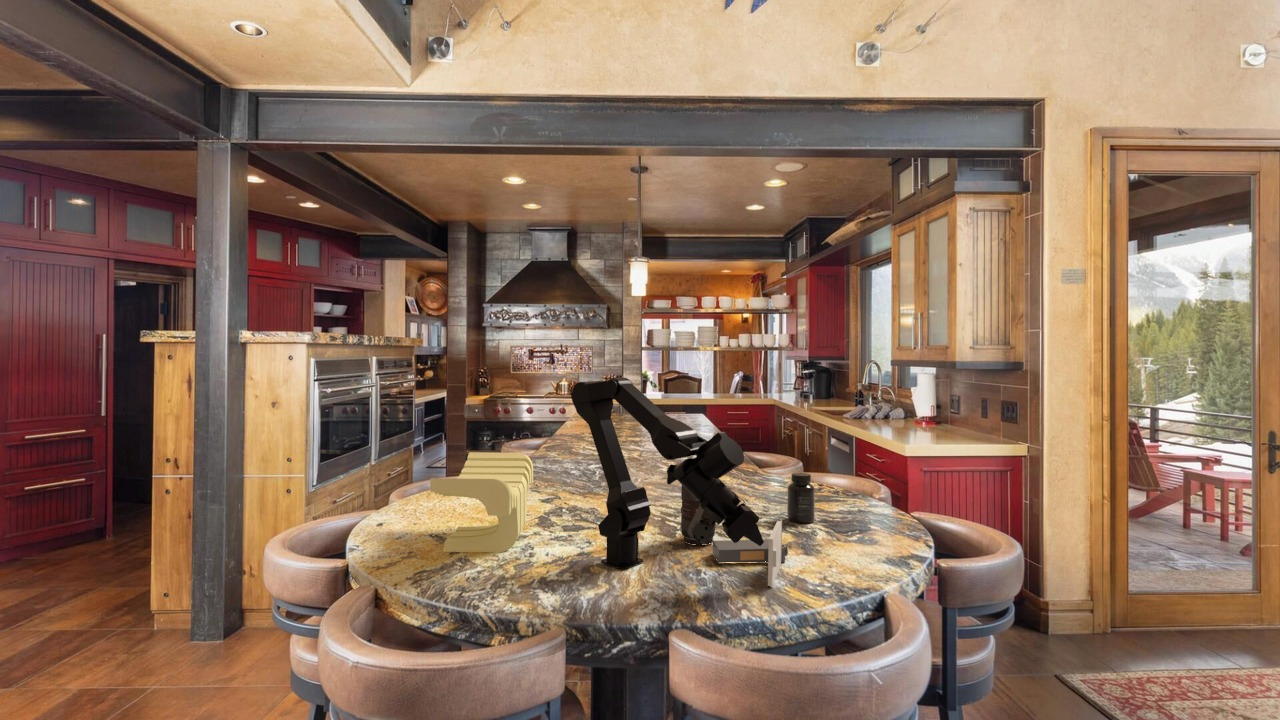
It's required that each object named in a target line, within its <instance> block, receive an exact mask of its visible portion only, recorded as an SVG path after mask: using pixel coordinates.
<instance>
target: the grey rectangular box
mask: <svg viewBox="0 0 1280 720" xmlns="http://www.w3.org/2000/svg"><path fill="white" fill-rule="evenodd" d="M763 541H764V543H763V544H762V545H761V546H759V545H757V544H756V543H754V542H752V541H751V540H749V539H742V540H741V539H740V540H739V541H738V542H737V543H734V542H733V541H732V540H731V539H729V540H713V542H712V555H713V554H714V556H715V557H716V559H717V560H718V562H765V561H766V562H768V546H769V539H763ZM788 553H789V550H788V545H787V544H782V559H781V562H785V563H786V557H787V556H788ZM714 556H713V557H714ZM715 557H714V558H715ZM716 559H715V560H716ZM718 562H717V563H718Z"/></svg>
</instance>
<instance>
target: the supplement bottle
mask: <svg viewBox="0 0 1280 720" xmlns="http://www.w3.org/2000/svg"><path fill="white" fill-rule="evenodd" d="M811 475H812V474H810V473H808V472H807V473H806V472H793V473H791V479H790V480H791V483H790V484H789V485H787V505H786V506H787V519H788V521H789V522H791V523H796V524H811V523H814V521H815V516H816V515H815V506H816V505H815V503H816V502H815V500H816V498H815V494H816V493H815V492H816V491H815V487H814V485H812V484H811V483H812V480H811Z"/></svg>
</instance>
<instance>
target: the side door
mask: <svg viewBox="0 0 1280 720" xmlns="http://www.w3.org/2000/svg"><path fill="white" fill-rule="evenodd" d="M768 540H769V546H768V563H767V587H768V586H770V587H769V588H773V586H774V583H775V581H776V579H775V578H777V576H778V574H779V570H780V568H781V566H782V563H781V559H782V543H783V519H782V518H777V521H776V523H775V525H774V527H773V529H772V532H771V533H770V536H768Z"/></svg>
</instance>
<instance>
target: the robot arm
mask: <svg viewBox="0 0 1280 720" xmlns="http://www.w3.org/2000/svg"><path fill="white" fill-rule="evenodd" d="M570 398H571V402H572V404H573V406H574V408H575V410H576V413H577V414H578V416H580V417H581V419H583V420H584V421H585V423H587V425H588V428H589V430H590V433H591V437H592V440H593V442H594V445H595V450H596V452H597V455H598V460H599V462H600V464H601V469H602V472H603V474H604V478H605V481H606V484H607V487H608V493H607V499H606V505H605V506H606V511H607V515H606V516H605V517H604V518H603V519H602V520H601V522H600V523H598V531H599V532H598V533H599V535H600V536H601V537H604V538H606V558H603V559H601V560H600V563H601V564H603V565H606V566H609V567H613V568H616V569H618V570H623V571H624V570H627V569H630V568H632V567H635V566H637V565H640V564H642V563H644V559H643V558H641V557H639V533H641V532H643V531H645V529H646V525H647V523H648V521H649V519H650V516H651V513H652V511H651V508H650V507H651V506H652V503H651V502H650V500H649V499H648V494H647V491H646V490H647V489H646V488H645V487H644V486H640V487H638V486H637V485H636V484H634V482H633V481H632V478H631V476H630V472H629V469H628V466H627V462H626V460H625V456H624V454H623V451H622V448H621V444H620V441H619V439H618V436H617V435H618V434H617V432H616V428H615V426H614V423H613V419H612V414H613V410H614V409H613V407H614V401H613V400H615V402H617V404H619V405H620V406H621V407H622V408H623V409H624V410H625V412H627V413H628V414H629V415H630V416H631V417H632V418H633V419H634V420H635V421H637V423H639V424H640V425H641V426H642V427H643V428H644V429H645V430H646V431H647V432H648V434H649V435H650V440H651V442H652V445H653V446H654V448H655V449H656V450H657V452H658V453H659V454H660V455H661V457H662V458H664V460H667V461H673V460H674V461H675V460H677V459H683V458H686V459H684V460H682V461H681V462H680V463H679V464H669V466H668V468H667V469H666V473H667V474H666V475H667V476H666V483H667V485H671V484H673V483H674V482H675V481H678V482H679V484H681V486H682V485H683V486H684V487H685V488H686V489H687V490H688V491H689V492H690V493H691V494H692V495H693V496H694V498H695V499H696V501H697V502H698V503H699V505H700V506H699V508H698V510H697V511H696V513H695V515H694V517H693V519H692V521H691V523H690V526H689V528H688V534H689V536H690V538H692V539H694V540H696V541H697V542H698V543H703V544H707V542H708V541H709V536H710V534H711V532H712V530H713V528H714V525H715V522H716V525H718V526H720V524H721V526H722V529H723V532H724V533H725V535H726V536H727V537H728V538H729V540H732V541H733V542H734V543H737V542H738V541H739V540H741V539H743V538H744V537H745V538H746V539H747V540H751V541H752V542H754V543H756V544H757V545H759V546H761V545H762V544H763V543H764V541H763V540H764V539H763V537H762V533H761V531H760V528H759V526H758V522H759V521H760V517H759V516H758V514H756V512H754V511H753V510H752V508H751V507H750V506H748V505H746V504H745V503H744V502H742V500H741V499H740V498H739V496H738V495H737V494H736V493H735V492H734V491H733V490H732V489H731V488H730V487H728V486H727V485H726V484H725V483H724V482H723V481H722V480H721V479H720V478H722V477H723V476H725V475H728V473H730V472H732V471H733V470H735V469H737V468H738V467H740V466H741V465H742V464H743V463H744V461H745V454H744V452H743V448H742V447H741V446H740V445H739V444H738V443H737V442H736V441H735V440H734V439H732V438H731V437H729V436H728V435H727V433H726V431H720V432H717V433H716V434H714V435H713V436H712V437H711V438H710V439H709V440H707V439H705V438H703V437H702V436H699V435H698V432H697V431H696V430H695V429H694V428H693V427H690V426H689V425H687V424H686V423H684V422H683V421H680V420H678V419H675V418H672V417H670V416H669V415H667V414H666V413H665V412H663V410H662V409H660V408H659V407H658V406H657V405H656V404H655V403H654V402H653V401H651V400H650V398H648V397H647V396H646V395H644V393H643V392H642V391H640V390H639V389H638V388H637V387H636V386H635V385H634V384H633V382H632V380H630V379H629V378H627V377H612V378H610V379H608V380H607V379H606V380H592V381H591V380H589V381H579V382H577V383H576V384H575V385H574V386H573V389H572V390H571V392H570ZM691 456H692V457H693V456H696V457H693V458H692V457H691ZM688 457H689V458H688ZM740 503H741V504H740ZM641 562H642V563H641ZM639 563H640V564H639ZM636 564H637V565H636Z"/></svg>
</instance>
